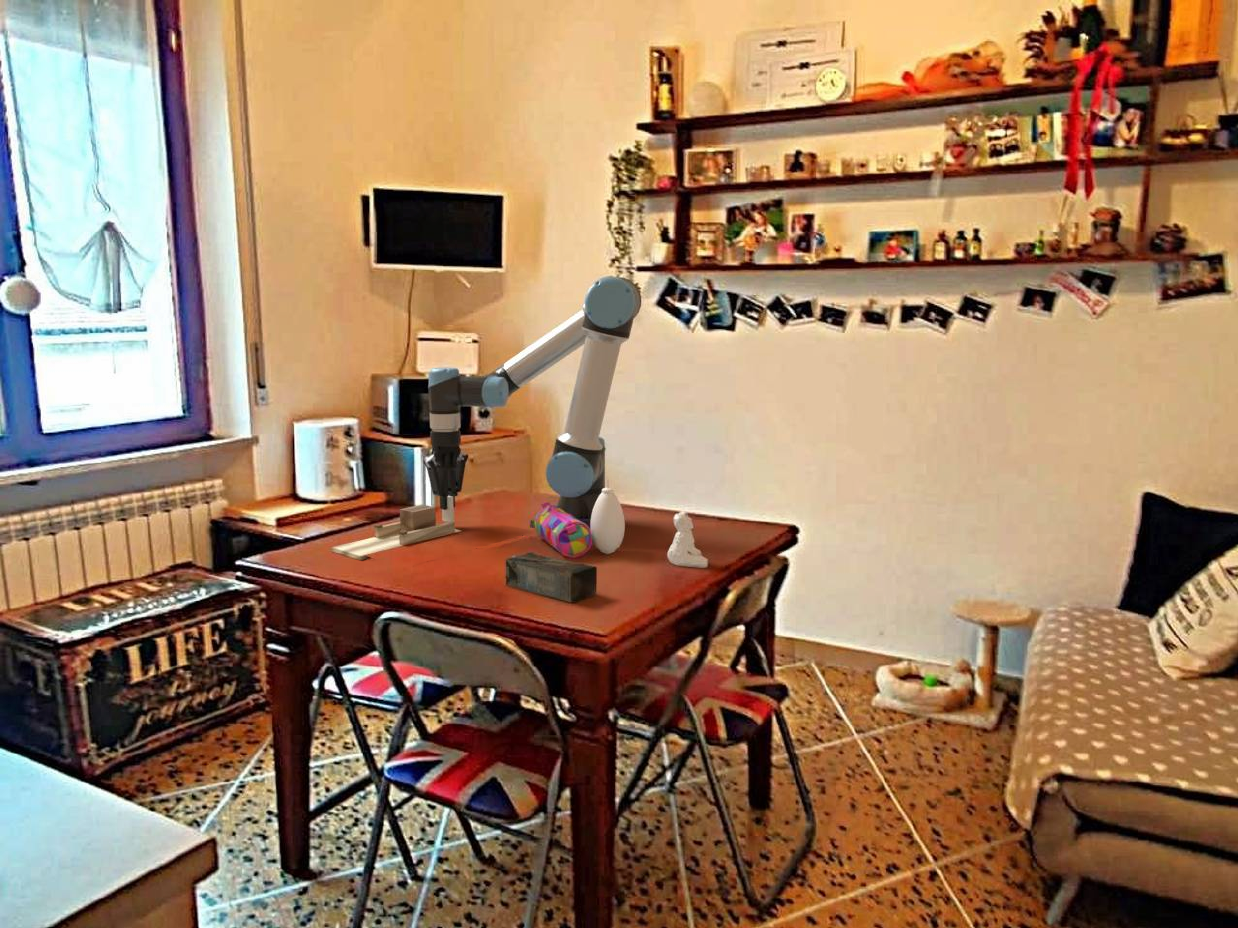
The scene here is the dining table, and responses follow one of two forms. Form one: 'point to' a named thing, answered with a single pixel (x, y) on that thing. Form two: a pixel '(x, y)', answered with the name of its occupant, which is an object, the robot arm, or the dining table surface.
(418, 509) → the walnut block
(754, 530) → the dining table surface
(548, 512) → the pencil case
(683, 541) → the white creature statuette
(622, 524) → the sauce bottle
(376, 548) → the railed wooden board
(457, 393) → the robot arm
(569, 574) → the dark grey block
